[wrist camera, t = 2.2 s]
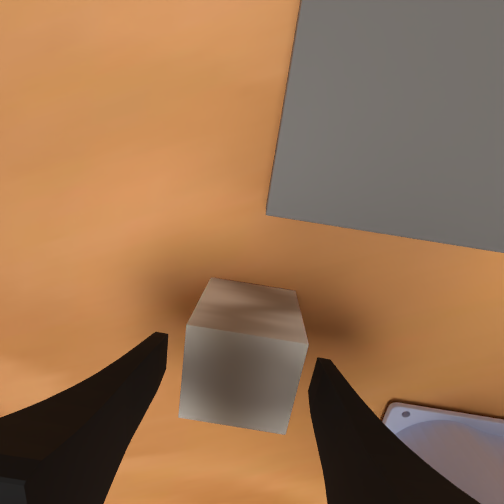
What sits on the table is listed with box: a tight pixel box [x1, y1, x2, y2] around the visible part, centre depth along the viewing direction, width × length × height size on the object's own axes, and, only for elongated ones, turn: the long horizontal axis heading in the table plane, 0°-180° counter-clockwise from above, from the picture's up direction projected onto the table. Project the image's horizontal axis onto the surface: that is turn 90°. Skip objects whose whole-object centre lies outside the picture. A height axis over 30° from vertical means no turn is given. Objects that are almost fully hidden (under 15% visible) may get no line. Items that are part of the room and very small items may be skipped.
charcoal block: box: [266, 0, 504, 253], centre depth 11 cm, size 12×12×3 cm
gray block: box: [179, 277, 309, 435], centre depth 14 cm, size 5×5×5 cm
